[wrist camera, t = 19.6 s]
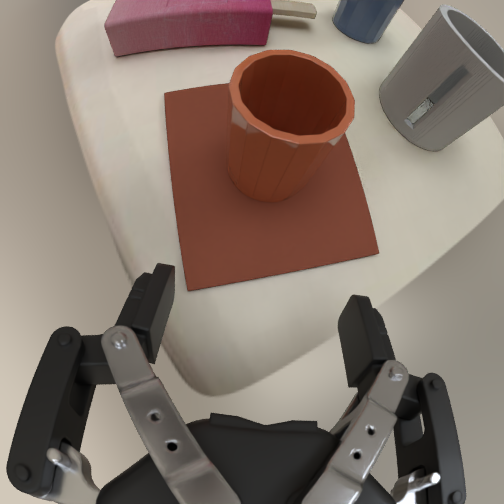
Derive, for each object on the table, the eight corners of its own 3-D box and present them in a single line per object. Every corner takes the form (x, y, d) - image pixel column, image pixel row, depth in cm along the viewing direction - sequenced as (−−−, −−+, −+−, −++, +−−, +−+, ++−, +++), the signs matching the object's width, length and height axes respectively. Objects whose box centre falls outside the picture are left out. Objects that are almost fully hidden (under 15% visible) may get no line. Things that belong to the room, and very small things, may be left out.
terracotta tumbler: (233, 208, 20) (242, 150, 11) (220, 132, 20) (221, 52, 12) (317, 196, 20) (371, 141, 12) (297, 125, 21) (331, 51, 13)
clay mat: (188, 291, 19) (187, 291, 19) (164, 95, 21) (164, 92, 21) (376, 254, 21) (379, 253, 20) (322, 82, 23) (323, 79, 22)
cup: (445, 102, 25) (506, 47, 13) (451, 165, 23) (533, 113, 11) (380, 65, 24) (431, -9, 12) (377, 125, 23) (452, 41, 11)
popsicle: (302, 6, 25) (132, 11, 22) (311, -23, 20) (125, -18, 18) (318, 51, 23) (115, 58, 21) (332, 18, 19) (103, 25, 16)
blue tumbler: (343, 39, 24) (370, -15, 16) (325, 10, 25) (345, -40, 17) (387, 46, 25) (418, 0, 17) (367, 17, 26) (390, -27, 17)
